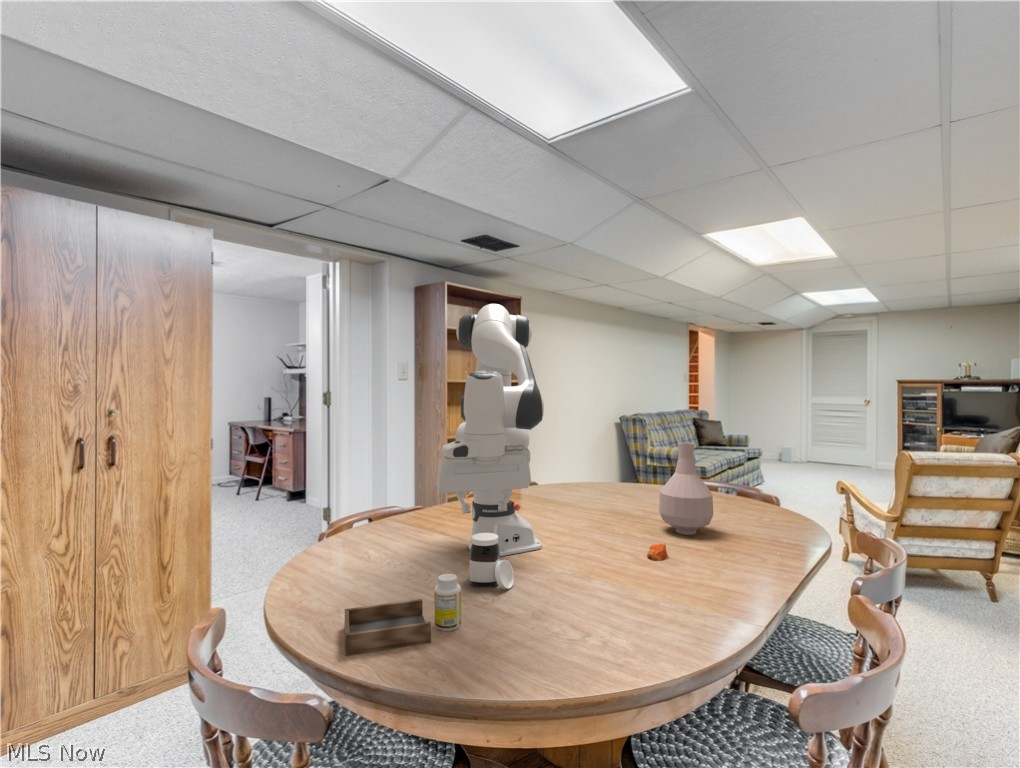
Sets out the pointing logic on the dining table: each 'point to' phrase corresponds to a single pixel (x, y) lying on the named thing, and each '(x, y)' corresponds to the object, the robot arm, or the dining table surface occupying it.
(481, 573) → the spread jar
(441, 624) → the supplement bottle
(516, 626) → the dining table surface
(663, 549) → the rock
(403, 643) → the tray
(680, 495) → the vase
